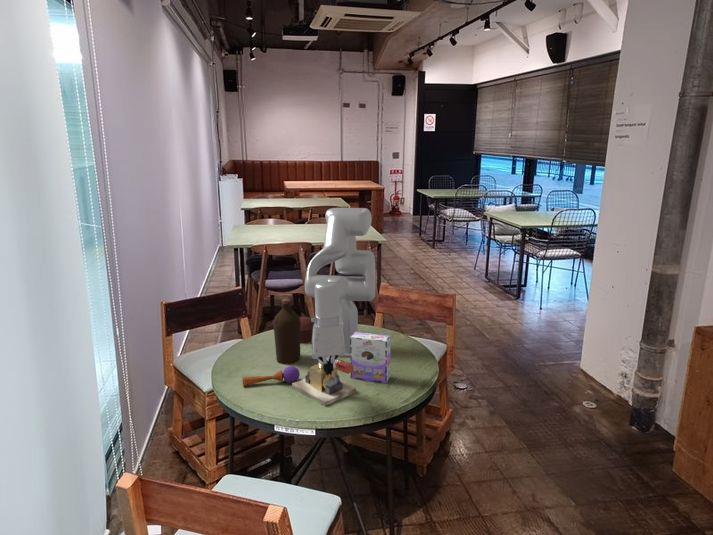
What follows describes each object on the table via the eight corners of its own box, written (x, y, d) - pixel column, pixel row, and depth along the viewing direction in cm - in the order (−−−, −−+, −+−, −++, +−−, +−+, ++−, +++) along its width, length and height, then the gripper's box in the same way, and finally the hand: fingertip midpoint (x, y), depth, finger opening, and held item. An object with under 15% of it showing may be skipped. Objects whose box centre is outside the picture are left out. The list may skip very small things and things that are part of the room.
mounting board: (322, 374, 182) (322, 371, 182) (356, 391, 169) (356, 387, 169) (292, 387, 173) (292, 383, 172) (325, 406, 160) (325, 402, 160)
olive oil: (294, 366, 189) (292, 305, 183) (270, 362, 192) (266, 302, 186) (306, 355, 199) (304, 296, 193) (282, 352, 202) (280, 294, 196)
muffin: (300, 347, 207) (299, 324, 205) (285, 339, 215) (284, 318, 213) (322, 339, 215) (322, 318, 213) (307, 332, 223) (306, 311, 221)
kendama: (242, 371, 177) (298, 363, 180) (244, 387, 177) (300, 379, 180) (241, 375, 171) (298, 367, 174) (243, 392, 171) (300, 383, 174)
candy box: (390, 377, 180) (391, 335, 176) (386, 384, 175) (386, 341, 171) (355, 371, 184) (355, 330, 180) (350, 378, 179) (349, 336, 175)
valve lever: (316, 366, 169) (316, 354, 168) (323, 363, 171) (323, 351, 170) (347, 378, 159) (347, 366, 158) (353, 375, 162) (353, 363, 161)
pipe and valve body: (319, 376, 178) (319, 358, 176) (343, 388, 168) (343, 369, 167) (304, 382, 173) (303, 364, 171) (328, 395, 164) (327, 376, 162)
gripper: (305, 326, 150) (307, 381, 155) (352, 322, 154) (353, 375, 158) (302, 318, 158) (304, 370, 162) (347, 314, 161) (348, 365, 165)
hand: (328, 373), depth 160 cm, fingers closed
